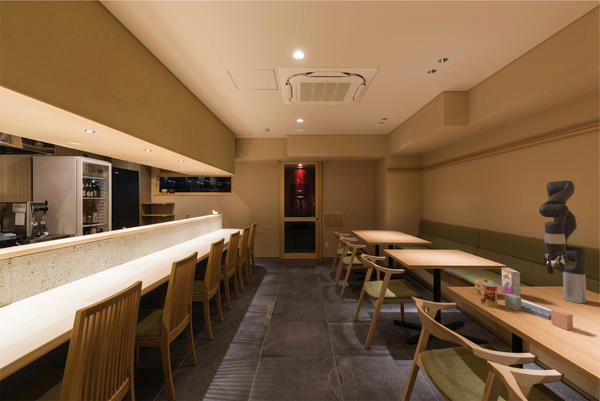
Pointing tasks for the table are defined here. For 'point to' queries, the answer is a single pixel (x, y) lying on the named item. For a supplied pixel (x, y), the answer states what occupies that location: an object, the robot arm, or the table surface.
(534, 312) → the ticket slab
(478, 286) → the pot
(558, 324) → the stub terracotta
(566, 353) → the table surface
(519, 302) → the stub grey
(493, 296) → the canned food
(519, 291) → the candy bar box
